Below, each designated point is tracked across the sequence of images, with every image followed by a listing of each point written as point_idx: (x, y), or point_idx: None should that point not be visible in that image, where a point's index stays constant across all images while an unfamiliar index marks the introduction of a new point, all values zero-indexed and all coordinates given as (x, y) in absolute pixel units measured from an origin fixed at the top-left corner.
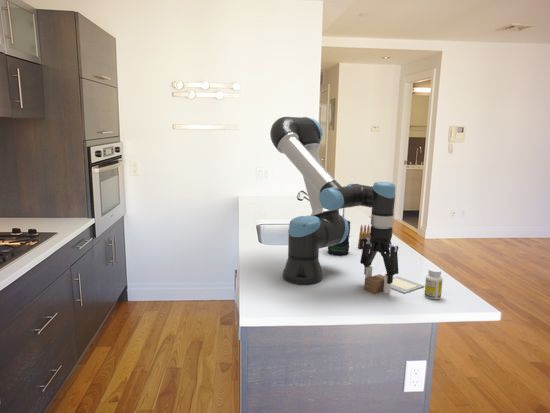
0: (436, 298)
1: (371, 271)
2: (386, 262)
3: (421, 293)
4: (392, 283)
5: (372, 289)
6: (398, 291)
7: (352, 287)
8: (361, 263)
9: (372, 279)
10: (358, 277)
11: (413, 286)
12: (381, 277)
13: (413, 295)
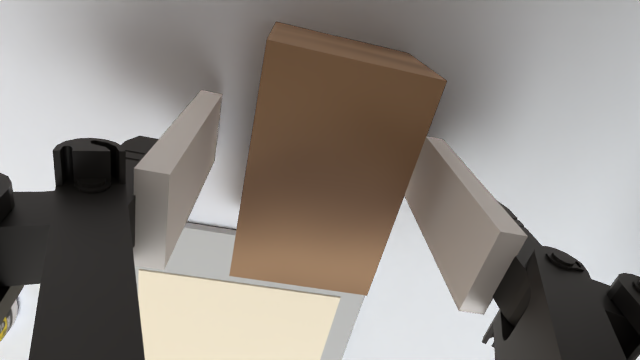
0: None
1: (442, 259)
2: (45, 347)
3: None
4: (279, 302)
5: (310, 35)
6: None
7: (524, 23)
8: (630, 275)
9: (354, 115)
10: None
11: (146, 344)
12: (307, 236)
13: None
